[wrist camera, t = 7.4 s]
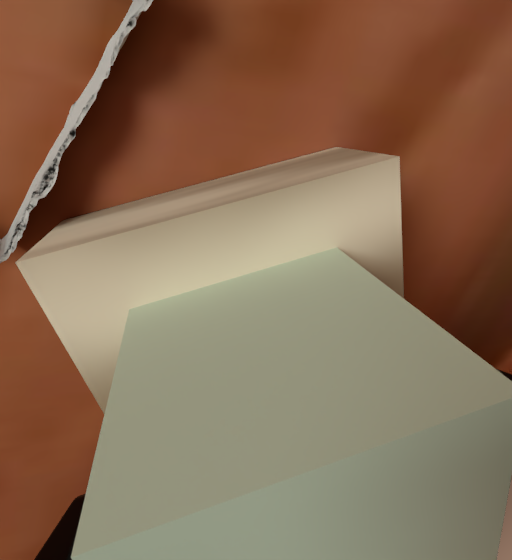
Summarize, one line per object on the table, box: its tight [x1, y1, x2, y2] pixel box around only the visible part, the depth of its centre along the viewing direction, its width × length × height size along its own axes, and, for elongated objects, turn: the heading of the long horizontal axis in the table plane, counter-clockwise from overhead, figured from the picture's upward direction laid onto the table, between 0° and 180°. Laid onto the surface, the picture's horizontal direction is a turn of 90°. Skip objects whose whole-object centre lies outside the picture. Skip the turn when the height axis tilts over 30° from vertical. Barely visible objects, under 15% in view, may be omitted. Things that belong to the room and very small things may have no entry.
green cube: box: [71, 247, 512, 560], centre depth 8 cm, size 6×6×6 cm
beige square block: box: [15, 147, 404, 414], centre depth 13 cm, size 10×10×4 cm
